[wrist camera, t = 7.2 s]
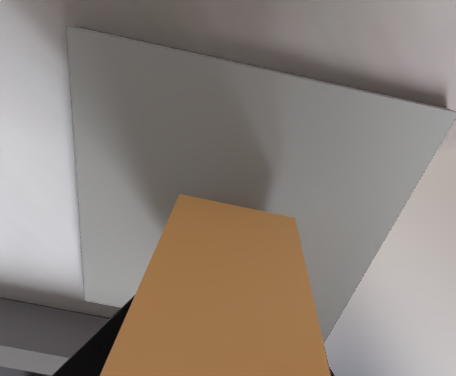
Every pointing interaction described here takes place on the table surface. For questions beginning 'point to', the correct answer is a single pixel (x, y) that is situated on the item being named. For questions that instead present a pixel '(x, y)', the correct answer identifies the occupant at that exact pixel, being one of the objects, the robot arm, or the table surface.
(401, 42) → the table surface
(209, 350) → the orange square peg
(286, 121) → the mat
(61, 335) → the power strip
